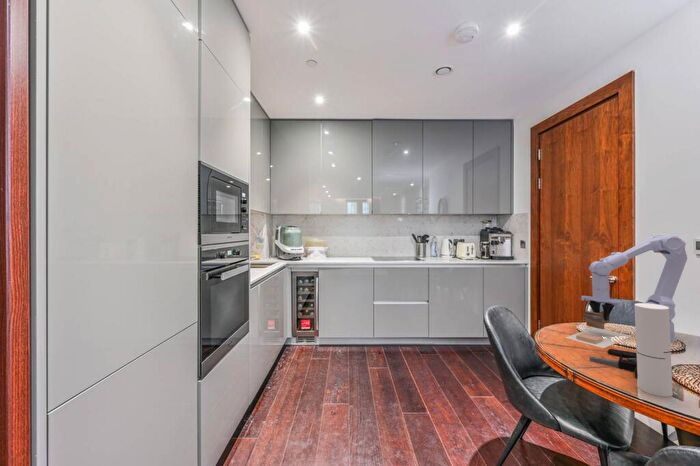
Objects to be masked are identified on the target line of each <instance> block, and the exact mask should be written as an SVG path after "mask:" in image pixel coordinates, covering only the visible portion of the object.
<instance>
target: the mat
mask: <svg viewBox="0 0 700 466" xmlns="http://www.w3.org/2000/svg"><path fill="white" fill-rule="evenodd" d="M582 333H586V334H590V335H594V336H598V337H602V336H603V337H606V338H607V339H603V341H602V342H599V343H597V344H593V343H590V342H586V341H582V340H578V339H576V335H579V334H582ZM615 336H617V337H619V336H626V337H628V338H627V339H630V338H632V337H633V335H628V334H626V333H620V332H618V331H616V332H615V331H611V330H608V329H607V330H606V329H599V328H594V327H591V328H590V329H586V330H583V331H580V332H578V333H574V334H572V335H569V336H565V337H564V338H565V339H568V340H571V341H574V342H579V343H582V344H586V345H589V346H590V345H591V346H593V347H597V348H601V349H605V348H607V347H610V346H612V345H615V344H616V343H615V342H612V341H611V338H610V337H615Z"/></svg>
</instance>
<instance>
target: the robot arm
mask: <svg viewBox="0 0 700 466" xmlns="http://www.w3.org/2000/svg"><path fill="white" fill-rule="evenodd" d="M686 244H687V243H686V242H685V241H684V240H683V239H682V238H681V237H679V236H677V235H660V234H659V235H654V236H652V237H649V238H647V239H645V240H643V241H642V242H640V243H637V245H636V244H635V246H633V247H631V248H628V249H627V250H625V251H623V252H620V251H616V252H614V251H613V252H610V255H608V256H606V257H603V258H599V260H598V261H597V260H596V261H593V262H592V263H590V265H589V267H588V270H589V272H591V287H592V290H591V291H592V296H589V295H581V297H580V298H581V299H580V300H581V301H583V302H584V301H586V302H588V305H589V307H590V308H591V310H592V312H595V313H599V312H601V308H602V309H603V310H602V311H604V320H605V321H607V320H609V318H610V315H611V312H612V311H613V309H614V307H616V306H617V307H623V306H624V301H623V300H618V299H613V298H610V297H611V295H610V281H609V278H610V276H609V275H610V274H611V273H612V271H614V270H616V269H618V268H620V267H622V266H624V265H626V264H628V262H629V260H630V259H632V258H635V257H637V256H639V255H643V254H645V253H647V252H649V251H657V252H659V253H660V254H661V255H662V256H663V257H664V258H665V259H666V261H665V263H664V266H663V268H662V270H661V271H662V272H661V274H660V277H659V279H658V282H657V284H656V287H655V290H654V293H653V294H652V295H650V296H649V297H647V298H648V299H647V300H646V301H645V302H644V303H649V304H657V305H663V306H667V307H669V321H670V344H673V343H674V342H676V341H678V340H679V339H678V338H677V337H675V324H674V322H673V319H674V318H675V317H676V311H675V310H676V309H675V307H676V304H675V301H674V300H673V297H674V295H675V293H676V290H677V287H678V285H679V281H680V279H681V277H682V275H683V271H684V269H685V266H686V263H687V262H688V261H687V260H688V255H687V251H686ZM601 304H602V305H601ZM601 306H602V307H601Z"/></svg>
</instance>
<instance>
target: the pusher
mask: <svg viewBox="0 0 700 466" xmlns="http://www.w3.org/2000/svg"><path fill="white" fill-rule="evenodd" d="M583 317H584V318H585V322H586V327H590V328H599V329H603V330H606V329H605V325H606V324H607V323H609V322H610V320H611V319H610V317H609V320H607V321H605V320H604V311H603V310H600V312H599V313H595V312H593V311H590V310H585V311H584V314H583Z"/></svg>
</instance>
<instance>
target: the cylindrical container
mask: <svg viewBox="0 0 700 466" xmlns="http://www.w3.org/2000/svg"><path fill="white" fill-rule="evenodd" d="M634 317H635V318H634V324H635V327H634V328H635V345H636V346H635V348H636V353H637V360H636V362H637V374H638V378H637V388H638V389H639V390H641V391H643V392H645V393H647V394H650V395H653V396H658V397H662V398H663V397H664V398H669V397H673V395H674V394H673V375H672V373H673V372H672V371H673V368H672V352H671V351H672V347H671V346H672V345H671V343H670V321H669V307H667V306H663V305H657V304H649V303H645V302H638V303H634Z"/></svg>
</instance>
